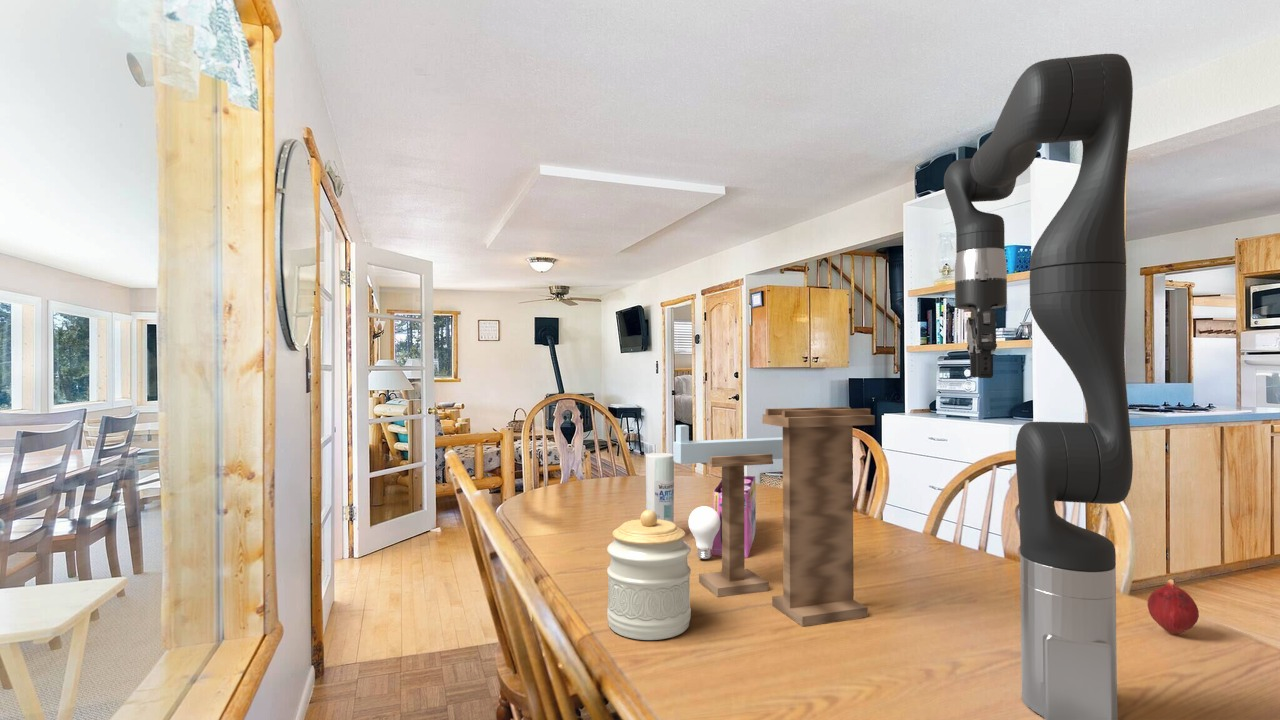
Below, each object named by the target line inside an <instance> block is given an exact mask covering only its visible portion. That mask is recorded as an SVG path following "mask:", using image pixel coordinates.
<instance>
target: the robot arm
mask: <svg viewBox="0 0 1280 720" xmlns="http://www.w3.org/2000/svg"><path fill="white" fill-rule="evenodd" d="M1133 89H1134V86H1133V75H1132V68H1131V66H1130V63H1129V62H1128V60H1127V58H1126V57H1125V56H1123V55H1122V54H1119V53H1100V54H1098V53H1097V54H1090V55H1080V56H1071V57H1058V58H1057V57H1056V58H1050V59H1045V60H1040V61H1037V62H1035V63H1033V64H1031V65H1030V66H1029V67H1027V68H1026V69H1025V70H1024V71H1023V73H1022V74H1021V75H1020V76H1019V78H1018V79H1017V81H1015V84H1014V85H1013V88H1012V89H1011V92H1010V94H1009V96H1008V97H1007V100H1006V102H1005V104H1004V106H1003V108H1002V110H1001V112H1000V115H999V117H998V119H997V121H996V123H995V126H994V129H993V131H992V133H991V134H990V136H989V137H987V139H986V140H985V142H983V144H982V145H981V146H979V148H978V149H977V150H976V151H975V152H974V154H973V156H972V158H961V159H956V160H954V161H953V162H951V163H950V164H949V166H948V167H947V168H946V171H945V173H944V176H943V188H944V191H945V195H946V198H947V201H948V204H949V206H950V211H951V213H952V217H953V220H954V225H955V232H956V233H955V235H956V236H955V241H956V243H955V245H956V247H955V250H956V251H955V252H956V256H955V258H956V259H955V264H954V305H955V308H956V309H958V310H967V311H968V310H969V311H970V317H967V319H966V320H965V321H966V322H965V328H966V343H967V347H966V350H967V352H968V355H969V366H970V369H969V371H970V377H972V378H979V379H991V378H993V376H994V354H995V352H996V350H997V348H998V344H997V328H996V327H997V319H996V317H997V313H996V311H995V310H992V309H1000V308H1001V309H1002V308H1004V307H1006V306H1007V305H1008V285H1007V284H1008V283H1007V282H1008V280H1007V279H1008V277H1007V275H1008V274H1007V273H1008V269H1007V267H1008V266H1007V259H1006V251H1005V249H1006V248H1005V246H1006V245H1005V242H1006V241H1005V240H1006V239H1005V230H1006V229H1005V221H1004V218H1003V217H1002V215H999V214H996V213H991V212H985V211H981V210H979V209H977V208H976V207H975V206H974V204H973V203H977V202H981V203H982V202H996V201H1001V200H1004V199H1006V198H1009V197H1010V196H1011V195H1012V193H1013V192H1014V190H1015V187H1016V182H1017V178H1018V177H1019V176H1021V175H1022V174H1023V173H1024V172H1025V171H1026V170H1028V168H1030V167H1031V165H1032V164H1033V162H1034V161H1035V158H1036V156H1037V153H1038V149H1039V148H1038V147H1039V144H1050V143H1051V144H1052V143H1053V144H1054V143H1055V144H1056V143H1067V142H1068V143H1069V142H1080V141H1081V143H1082V155H1081V163H1080V168H1079V172H1078V176H1077V178H1076V181H1075V183H1074V185H1073V187H1072V189H1071V191H1070V193H1069V194H1068V197H1066V199H1065V201H1064V202H1063V204H1062V205H1061V207H1060V208H1059V210H1058V211H1057V212H1056V214H1055V215H1054V216H1053V218H1052V219H1051V220H1050V221H1049V224H1048V225H1047V226H1046V227H1045V229H1044V231H1043V232H1042V233H1041V235H1040V236H1039V239H1038V240H1037V242H1036V244H1035V245H1034V248H1033V250H1032V252H1031V255H1030V259H1029V308H1030V312H1031V315H1032V317H1033V319H1034V321H1035V323H1036V325H1037V327H1039V329H1040V330H1041V332H1042V333H1043V335H1044V336H1045V338H1047V340H1048V342H1049V343H1050V344H1051V345H1052V346H1053V348H1054V349H1055V350H1056V351H1057V353H1058V354H1059V355H1060V356H1061V358H1062V359H1063V360H1064V361H1065V363H1066V365H1067V366H1068V367H1069V369H1070V371H1071V372H1072V374H1073V376H1074V378H1075V379H1076V381H1077V383H1078V385H1079V386H1080V389H1081V392H1082V395H1083V398H1084V402H1085V407H1086V415H1087V422H1078V421H1077V422H1073V421H1072V422H1070V421H1069V422H1068V421H1066V422H1064V421H1029V422H1025V423H1024V424H1023V425H1021V427H1020V429H1019V431H1018V433H1017V435H1016V440H1015V470H1016V479H1017V480H1016V481H1017V493H1018V494H1017V495H1018V519H1019V524H1018V525H1019V539H1020V540H1019V542H1020V543H1019V545H1020V546H1019V548H1020V550H1019V551H1020V552H1019V553H1020V554H1019V556H1020V557H1019V558H1020V570H1019V571H1020V583H1019V584H1020V657H1021V658H1020V660H1021V661H1020V662H1021V663H1020V665H1021V699H1022V701H1023V703H1024V704H1025V705H1026V707H1027V708H1028V709H1030V710H1032V711H1033V712H1035V713H1037V714H1038V715H1039V716H1041V717H1042V718H1043V719H1044V720H1118V676H1117V675H1118V673H1117V672H1118V670H1117V669H1118V668H1117V667H1118V664H1117V663H1118V662H1117V661H1118V660H1117V659H1118V657H1117V581H1116V580H1117V577H1116V576H1117V574H1116V573H1117V572H1116V571H1117V570H1116V569H1117V567H1116V564H1117V563H1116V562H1117V561H1116V557H1117V553H1116V548H1115V544H1114V542H1112V541H1111V540H1110V539H1109V538H1108V537H1106V536H1104V535H1102V534H1100V533H1098V532H1094V531H1093V530H1089V529H1087V528H1084V527H1081V526H1078V525H1076V524H1073V523H1072V522H1069V521H1067V520H1066V519H1064V518H1063V517H1062V516H1060V515H1059V514H1058V513H1057V510H1056V505H1055V502H1065V503H1082V504H1101V505H1102V504H1103V505H1113V504H1114V505H1116V504H1119V503H1121V502H1123V501H1125V499H1126V498H1127V497H1128V495H1129V493H1130V491H1131V487H1132V481H1133V470H1134V469H1133V467H1134V466H1133V465H1134V464H1133V463H1134V461H1133V446H1132V433H1131V425H1130V424H1131V423H1130V414H1129V403H1128V393H1127V391H1128V390H1127V379H1126V355H1125V353H1126V351H1125V350H1126V348H1125V347H1126V313H1127V312H1126V309H1127V307H1126V306H1127V252H1126V230H1125V229H1126V227H1125V223H1126V222H1125V221H1126V219H1125V217H1126V216H1125V215H1126V214H1125V212H1126V211H1125V207H1126V206H1125V201H1126V200H1125V196H1126V194H1125V192H1126V175H1127V174H1126V173H1127V163H1128V162H1127V161H1128V154H1129V153H1128V151H1129V142H1130V131H1131V121H1132V111H1133V110H1132V109H1133V94H1134V91H1133Z"/></svg>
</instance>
